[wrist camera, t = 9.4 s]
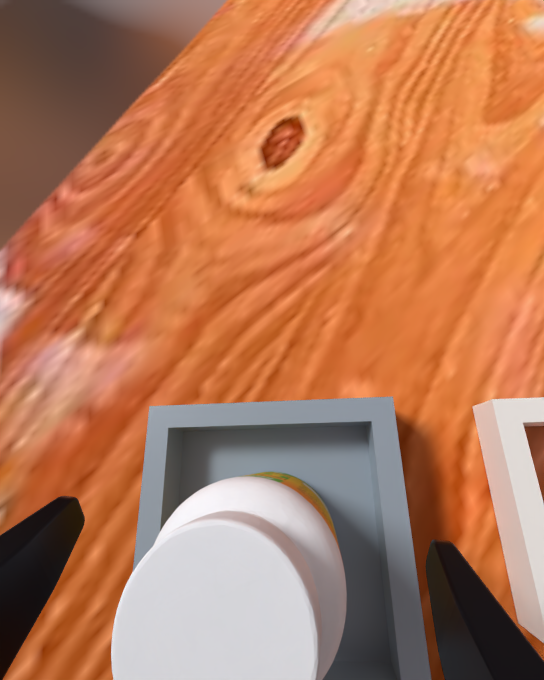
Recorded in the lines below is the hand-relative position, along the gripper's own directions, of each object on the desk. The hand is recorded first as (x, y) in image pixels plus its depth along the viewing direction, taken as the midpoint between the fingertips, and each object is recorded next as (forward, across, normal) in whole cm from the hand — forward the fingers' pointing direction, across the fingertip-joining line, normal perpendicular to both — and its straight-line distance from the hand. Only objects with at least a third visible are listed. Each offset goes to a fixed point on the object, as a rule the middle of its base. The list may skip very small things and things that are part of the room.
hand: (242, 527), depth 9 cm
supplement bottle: (+5, 0, +7) cm, 8 cm away
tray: (+5, 0, +7) cm, 8 cm away
